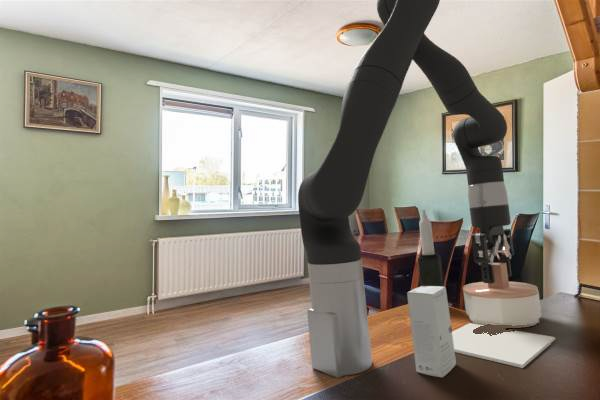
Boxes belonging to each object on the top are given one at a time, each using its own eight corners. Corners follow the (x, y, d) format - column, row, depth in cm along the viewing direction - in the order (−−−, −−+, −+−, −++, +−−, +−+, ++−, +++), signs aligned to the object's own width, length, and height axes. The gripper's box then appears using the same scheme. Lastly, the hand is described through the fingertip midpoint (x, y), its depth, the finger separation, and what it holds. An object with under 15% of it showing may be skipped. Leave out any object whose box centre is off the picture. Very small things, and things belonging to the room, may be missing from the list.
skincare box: (444, 379, 50) (434, 293, 51) (414, 372, 53) (405, 292, 54) (457, 363, 55) (448, 285, 56) (429, 358, 58) (421, 284, 59)
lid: (523, 301, 65) (519, 270, 66) (451, 294, 76) (448, 267, 76) (548, 287, 74) (544, 260, 74) (480, 282, 85) (477, 258, 85)
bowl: (525, 333, 65) (521, 300, 66) (458, 321, 76) (454, 293, 76) (548, 316, 74) (544, 288, 74) (485, 308, 84) (481, 283, 84)
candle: (443, 310, 86) (431, 208, 87) (422, 309, 88) (411, 210, 90) (446, 305, 90) (435, 208, 92) (426, 304, 93) (415, 210, 94)
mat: (522, 368, 52) (522, 364, 52) (430, 346, 63) (429, 343, 63) (555, 340, 61) (555, 337, 61) (469, 325, 73) (469, 323, 73)
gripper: (492, 203, 69) (502, 287, 68) (520, 201, 78) (529, 275, 77) (455, 207, 75) (464, 284, 74) (485, 205, 84) (493, 273, 83)
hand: (497, 279), depth 75 cm, fingers open, 8 cm apart
